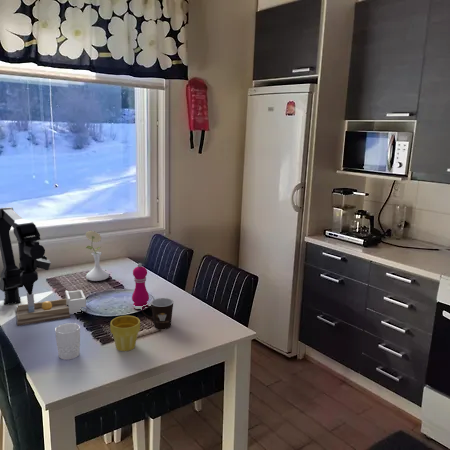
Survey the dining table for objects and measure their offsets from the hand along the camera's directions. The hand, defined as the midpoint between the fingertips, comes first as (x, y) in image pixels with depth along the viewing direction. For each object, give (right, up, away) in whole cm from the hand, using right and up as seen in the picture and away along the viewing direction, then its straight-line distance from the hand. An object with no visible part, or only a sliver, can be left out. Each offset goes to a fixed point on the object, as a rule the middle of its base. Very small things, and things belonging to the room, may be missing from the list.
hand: (29, 290), depth 180 cm
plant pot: (+44, -17, -22) cm, 52 cm away
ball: (+5, -7, +4) cm, 10 cm away
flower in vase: (+14, -1, +46) cm, 48 cm away
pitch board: (+4, -10, +4) cm, 12 cm away
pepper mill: (+43, -9, +12) cm, 45 cm away
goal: (+15, -9, +10) cm, 20 cm away
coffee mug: (+53, -13, -4) cm, 55 cm away
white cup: (+26, -18, -28) cm, 42 cm away
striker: (0, -9, +2) cm, 10 cm away
